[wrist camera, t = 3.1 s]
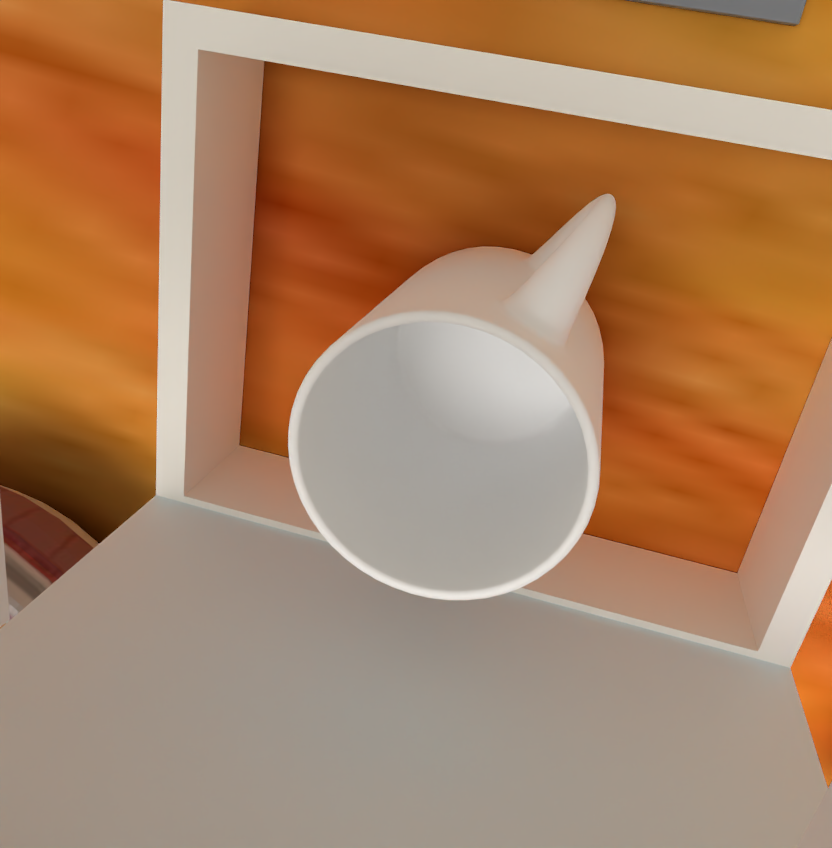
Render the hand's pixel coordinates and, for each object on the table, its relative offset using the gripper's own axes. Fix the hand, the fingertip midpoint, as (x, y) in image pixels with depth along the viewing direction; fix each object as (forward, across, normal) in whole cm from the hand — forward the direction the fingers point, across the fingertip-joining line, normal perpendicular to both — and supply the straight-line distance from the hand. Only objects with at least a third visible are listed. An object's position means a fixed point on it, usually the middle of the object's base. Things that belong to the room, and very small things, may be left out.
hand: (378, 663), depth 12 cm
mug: (+20, 0, 0) cm, 20 cm away
